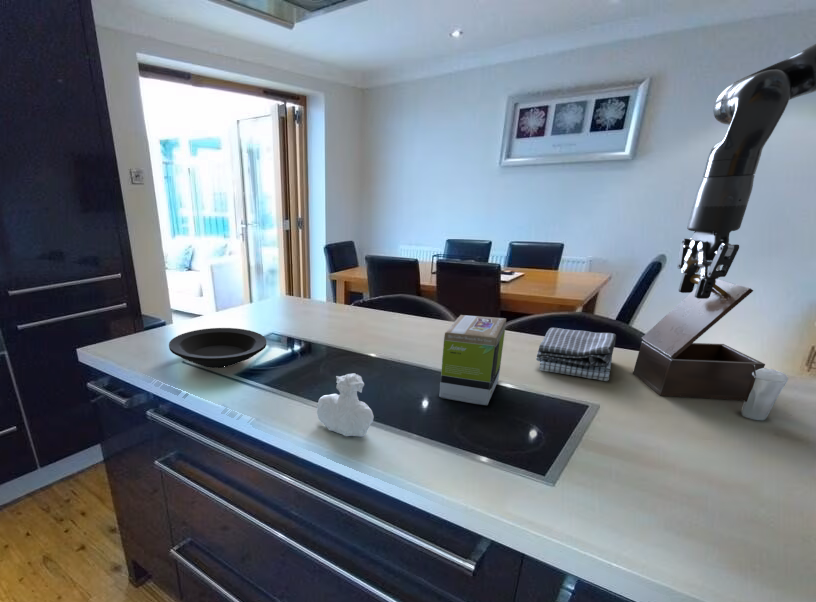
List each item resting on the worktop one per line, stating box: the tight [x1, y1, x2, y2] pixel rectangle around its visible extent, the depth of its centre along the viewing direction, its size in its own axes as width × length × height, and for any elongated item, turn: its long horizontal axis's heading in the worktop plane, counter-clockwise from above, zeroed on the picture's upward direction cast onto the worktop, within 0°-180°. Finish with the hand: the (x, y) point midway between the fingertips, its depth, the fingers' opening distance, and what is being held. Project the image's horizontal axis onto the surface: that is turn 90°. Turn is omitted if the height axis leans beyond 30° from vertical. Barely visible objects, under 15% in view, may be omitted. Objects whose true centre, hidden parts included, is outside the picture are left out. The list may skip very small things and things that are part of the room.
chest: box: [632, 340, 766, 401], centre depth 93 cm, size 16×13×8 cm
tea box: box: [438, 314, 507, 406], centre depth 93 cm, size 15×10×15 cm
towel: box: [535, 327, 617, 382], centre depth 106 cm, size 15×18×8 cm
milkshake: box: [740, 365, 789, 421], centre depth 79 cm, size 4×5×10 cm
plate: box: [168, 327, 267, 369], centre depth 116 cm, size 28×24×6 cm
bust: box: [316, 372, 375, 437], centre depth 80 cm, size 12×8×11 cm
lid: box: [640, 273, 754, 359], centre depth 89 cm, size 16×13×5 cm
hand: (693, 294), depth 87 cm, fingers closed on lid, 5 cm apart
